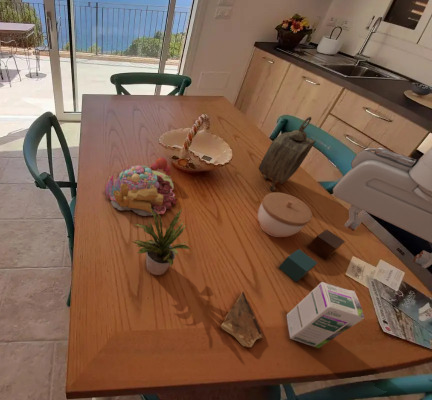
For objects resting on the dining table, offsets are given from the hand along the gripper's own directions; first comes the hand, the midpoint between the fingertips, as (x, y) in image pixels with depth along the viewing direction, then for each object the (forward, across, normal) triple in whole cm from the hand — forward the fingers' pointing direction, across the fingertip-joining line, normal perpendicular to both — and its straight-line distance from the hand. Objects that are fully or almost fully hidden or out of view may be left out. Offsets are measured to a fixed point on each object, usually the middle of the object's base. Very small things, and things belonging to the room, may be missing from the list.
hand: (382, 244), depth 43 cm
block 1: (+26, -6, +12) cm, 29 cm away
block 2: (+26, -3, +26) cm, 37 cm away
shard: (+27, -9, -12) cm, 31 cm away
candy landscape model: (+26, -53, +3) cm, 59 cm away
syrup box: (+27, +2, -3) cm, 27 cm away
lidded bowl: (+27, -16, +23) cm, 39 cm away
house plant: (+27, -31, -14) cm, 43 cm away
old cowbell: (+26, -27, +46) cm, 60 cm away
